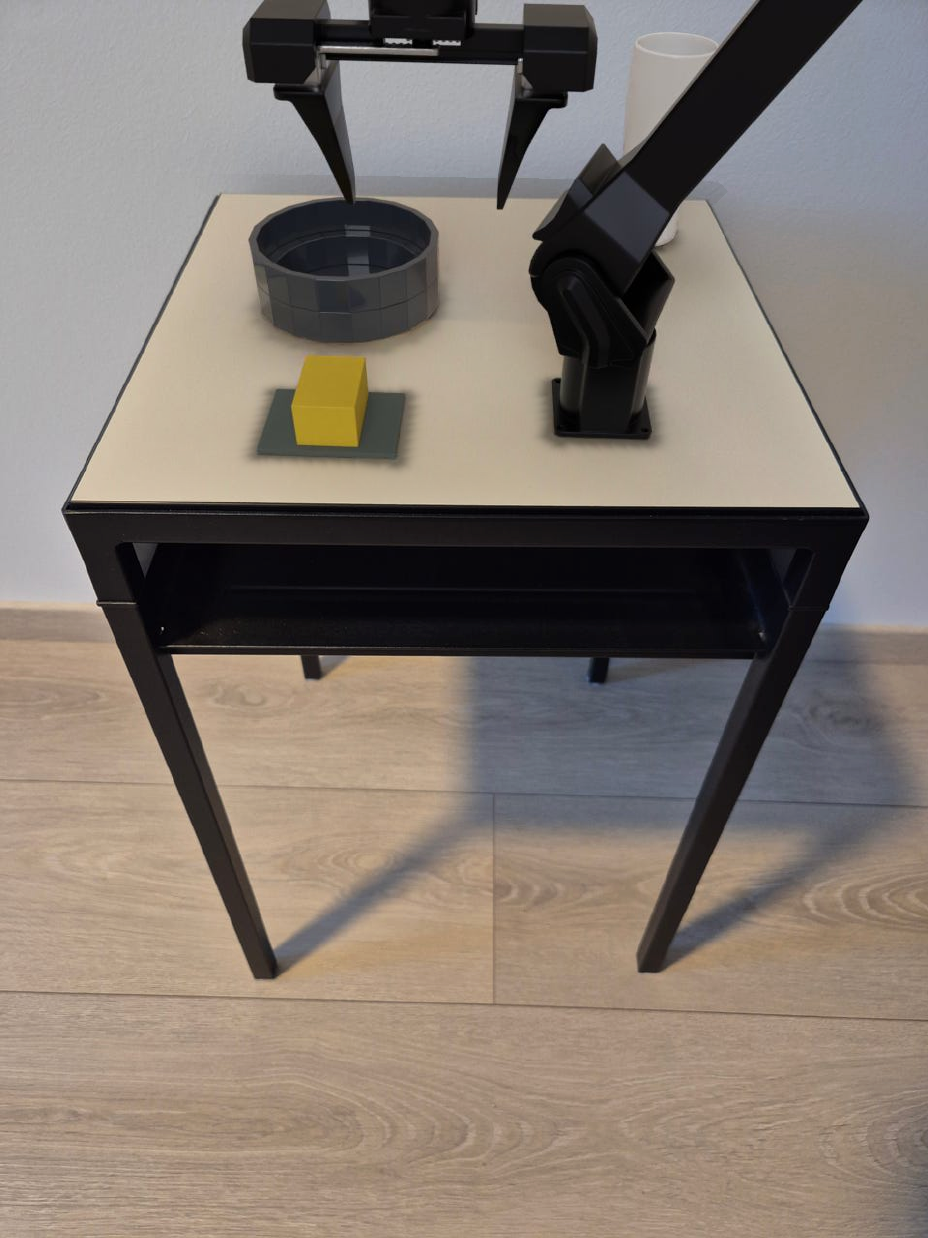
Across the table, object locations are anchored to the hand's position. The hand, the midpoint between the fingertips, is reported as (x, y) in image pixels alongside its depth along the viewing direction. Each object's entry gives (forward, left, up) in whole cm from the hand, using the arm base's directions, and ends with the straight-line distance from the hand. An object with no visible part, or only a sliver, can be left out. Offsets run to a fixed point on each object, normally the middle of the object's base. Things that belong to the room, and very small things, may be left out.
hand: (425, 204), depth 54 cm
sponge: (-6, +6, -12) cm, 15 cm away
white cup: (+24, -18, -12) cm, 32 cm away
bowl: (+10, +7, -12) cm, 17 cm away
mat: (-6, +6, -12) cm, 15 cm away
